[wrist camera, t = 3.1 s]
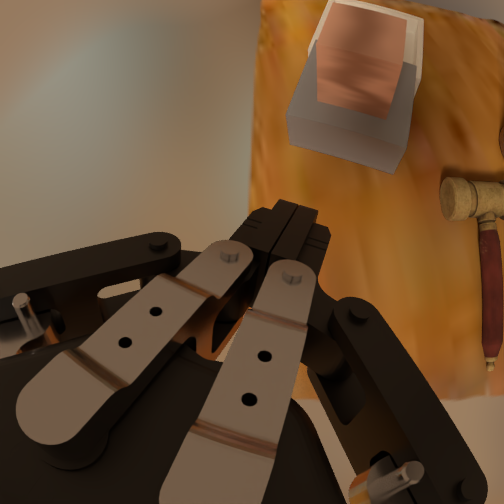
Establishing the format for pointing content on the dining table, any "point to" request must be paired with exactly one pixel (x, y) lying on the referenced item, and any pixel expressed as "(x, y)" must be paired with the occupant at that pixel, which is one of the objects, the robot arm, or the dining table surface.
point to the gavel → (482, 248)
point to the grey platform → (351, 122)
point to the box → (412, 40)
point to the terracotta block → (360, 59)
